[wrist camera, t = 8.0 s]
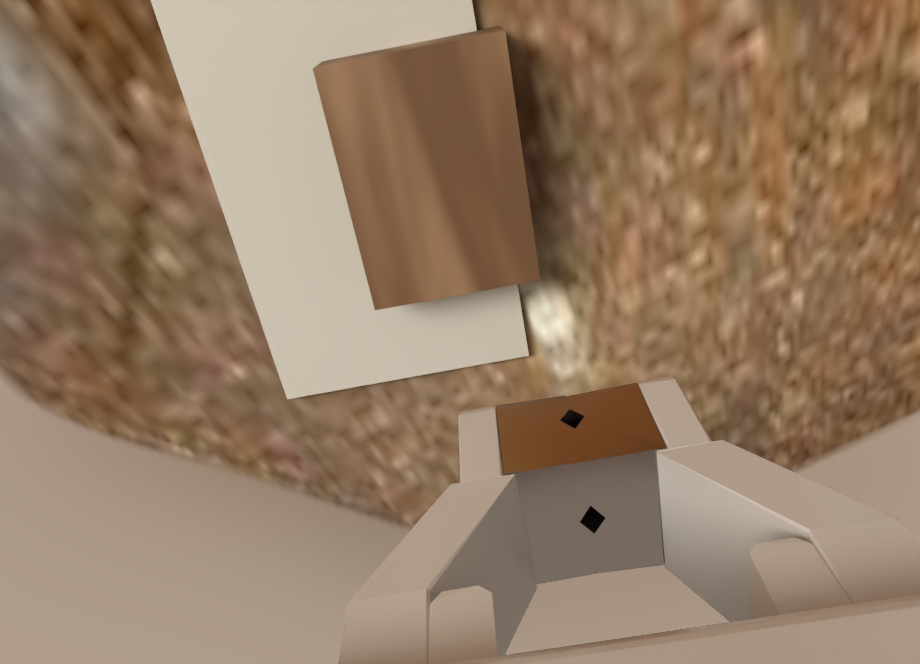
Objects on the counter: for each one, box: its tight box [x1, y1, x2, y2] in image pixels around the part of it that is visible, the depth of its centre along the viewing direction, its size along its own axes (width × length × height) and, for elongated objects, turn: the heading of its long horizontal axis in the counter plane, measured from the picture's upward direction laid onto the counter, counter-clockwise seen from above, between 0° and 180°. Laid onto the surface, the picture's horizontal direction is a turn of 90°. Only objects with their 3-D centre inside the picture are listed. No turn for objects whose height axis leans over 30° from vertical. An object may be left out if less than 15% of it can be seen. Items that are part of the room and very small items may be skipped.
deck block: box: [313, 26, 540, 310], centre depth 27 cm, size 2×9×6 cm
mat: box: [151, 0, 529, 399], centre depth 28 cm, size 11×18×1 cm, turn 10°
